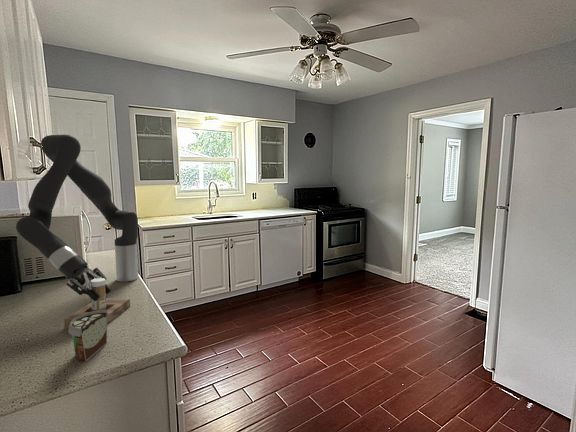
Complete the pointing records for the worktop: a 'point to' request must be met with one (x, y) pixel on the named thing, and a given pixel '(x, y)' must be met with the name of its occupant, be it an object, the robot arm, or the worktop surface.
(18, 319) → the worktop surface
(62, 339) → the worktop surface
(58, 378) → the worktop surface
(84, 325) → the food container
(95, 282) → the sprinkles bottle
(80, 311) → the walnut caddy
